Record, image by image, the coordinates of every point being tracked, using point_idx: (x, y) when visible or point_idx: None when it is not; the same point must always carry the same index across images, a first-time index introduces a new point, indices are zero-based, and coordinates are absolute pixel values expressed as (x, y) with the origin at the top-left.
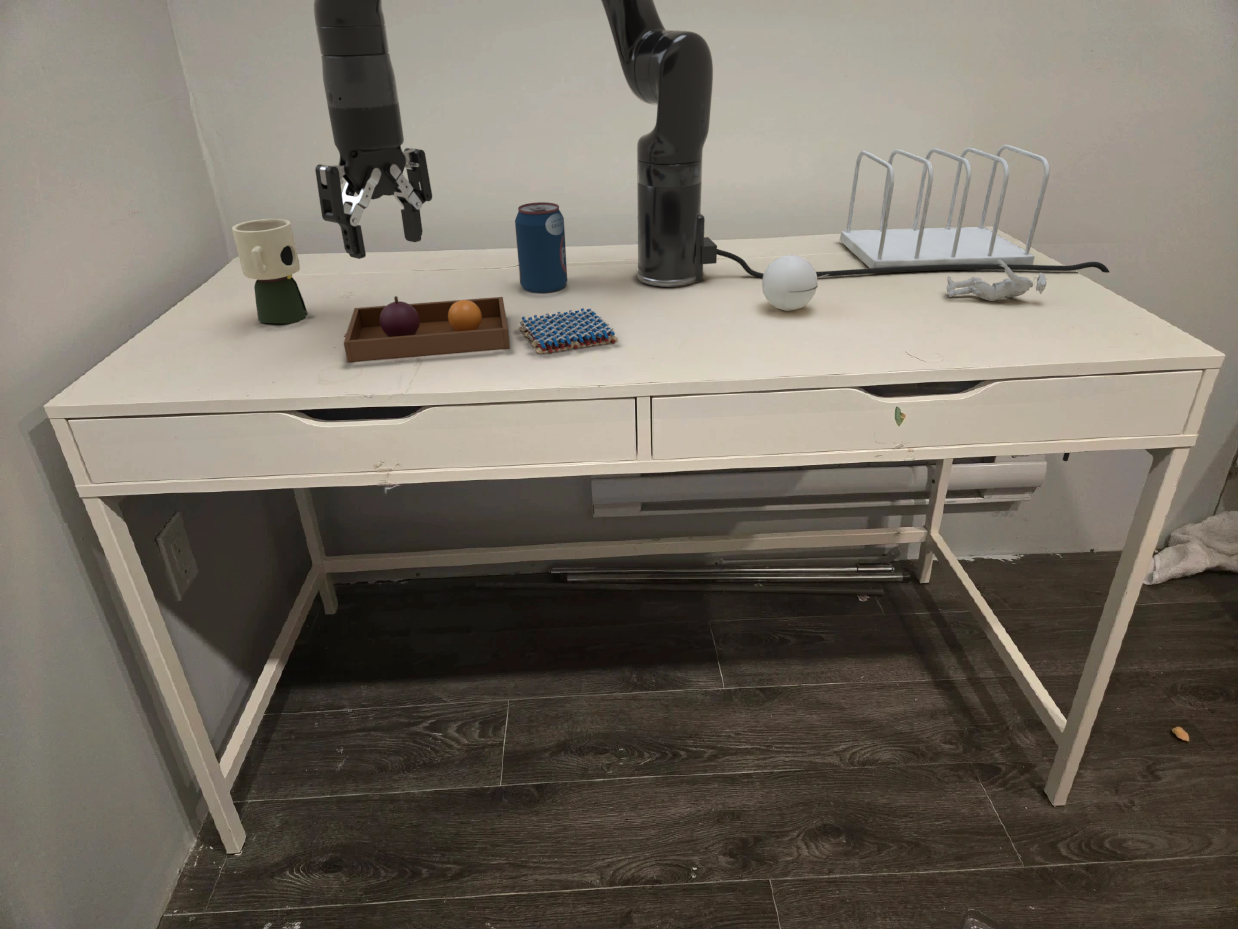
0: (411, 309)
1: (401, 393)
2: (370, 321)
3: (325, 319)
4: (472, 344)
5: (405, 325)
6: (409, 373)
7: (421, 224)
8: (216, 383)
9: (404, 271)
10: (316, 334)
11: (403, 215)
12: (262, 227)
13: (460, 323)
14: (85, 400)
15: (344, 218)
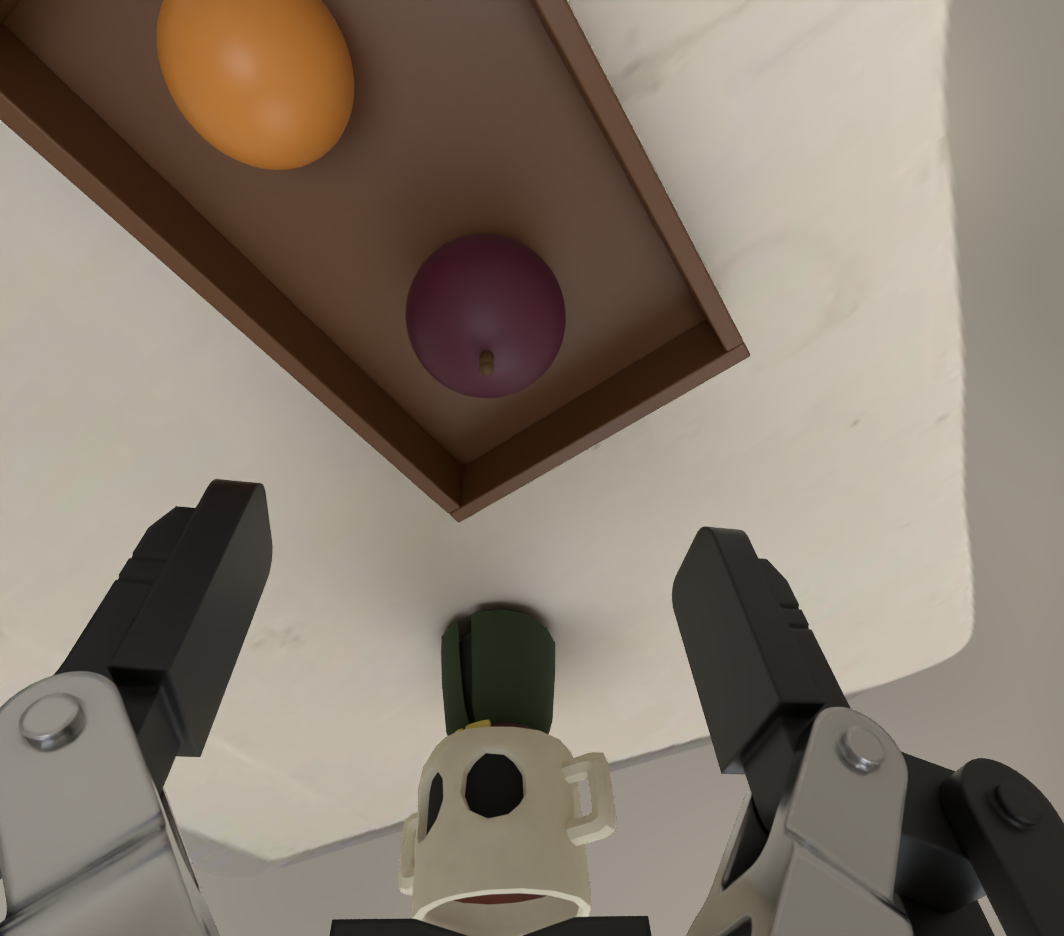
0: (464, 284)
1: None
2: (442, 459)
3: (439, 582)
4: None
5: (530, 255)
6: (733, 47)
7: (125, 566)
8: (867, 521)
9: (30, 646)
10: (534, 538)
11: (215, 699)
12: (455, 908)
13: (341, 34)
14: (952, 634)
15: (965, 792)
